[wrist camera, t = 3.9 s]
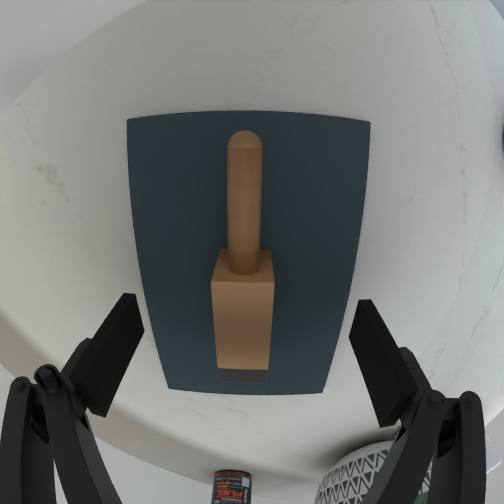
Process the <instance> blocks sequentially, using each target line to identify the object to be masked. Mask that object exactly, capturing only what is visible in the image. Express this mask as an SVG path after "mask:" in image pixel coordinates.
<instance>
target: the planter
mask: <svg viewBox="0 0 504 504" xmlns="http://www.w3.org/2000/svg"><path fill="white" fill-rule="evenodd" d="M393 441H394V440H390V441H381V442H376V443H373V444H369V445H366V446H364V447H361V448H359V449H357V450H355V451H353V452H351V453H349V454H347V455H346V456H344V457H343V458H342V459H341V460H339V461H338V462H337V463H336V464H335V465H334V466H333V467H332V468H331V469H330V470H329V471H328V473H327V474H326V475H325V477H324V478H323V480H322V481H321V483H320V485H319V488H318V490H317V494H316V498H315V503H314V504H360V503H361V501H362V500H363V498H364V497H365V495H366V493H367V492H368V490H369V488H370V486H371V485H372V483H373V481H374V479H375V477H376V476H377V474H378V472H379V470H380V468H381V466H382V464H383V462H384V460H385V458H386V456H387V454H388V452H389V450H390V447H391V445H392V443H393ZM431 467H432V460H431V462H430V465H429V468H428V471H427V474H426V476H425V479H424V481H423V484H422V486H421V489H420V491H419V493H418V496H417V498H416V500H415V502H414V504H426V502H427V497H428V491H429V484H430V476H431Z"/></svg>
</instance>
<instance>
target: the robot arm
mask: <svg viewBox="0 0 504 504" xmlns="http://www.w3.org/2000/svg"><path fill="white" fill-rule="evenodd" d="M144 332H145V331H144V327H143V323H142V319H141V315H140V311H139V307H138V303H137V298H136V294H131V293H123V295H122V296H121V298H120V299H119V300H118V302H117V303H116V305H115V306H114V307H113V309H112V310H111V312H110V313H109V315H108V316H107V317H106V319H105V320H104V322H103V323H102V325H101V326H100V328H99V329H98V331H97V332H96V334H95V335H94V337H93V338H92V339H90V338H86V339H85V340H83V341H82V342H81V343H79V345H78V346H77V348H76V349H75V352H73V354H72V355H71V357H70V358H69V360H68V361H67V363H66V364H65V366H64V368H63V369H62V371H61V372H60V373H59V371H58V370H57V368H56V367H55V366H54V365H51V364H45V365H43V366H40V367H39V368H38V369H37V370H36V372H35V373H34V379H35V381H36V382H37V384H32V383H31V382H30V380H29V379H28V378H27V377H23V376H21V377H18V378H16V379H15V380H14V381H13V382H12V384H11V386H10V390H9V394H8V399H7V403H6V409H5V414H4V419H3V425H2V433H1V440H0V504H57V503H56V493H55V481H54V461H55V464H56V468H57V472H58V476H59V479H60V482H61V485H62V488H63V491H64V494H65V497H66V500H67V502H68V504H122V502H121V500H120V498H119V496H118V494H117V492H116V490H115V488H114V486H113V484H112V481H111V479H110V477H109V475H108V472H107V470H106V467H105V465H104V463H103V460H102V458H101V455H100V452H99V450H98V447H97V445H96V441H95V439H94V436H93V433H92V430H91V427H90V423H89V420H88V417H87V415H86V413H85V411H86V409H87V407H88V408H89V410H90V411H91V413H92V414H95V415H98V416H102V417H106V415H107V413H108V410H109V408H110V405H111V403H112V401H113V398H114V396H115V394H116V392H117V389H118V387H119V385H120V383H121V380H122V378H123V376H124V374H125V372H126V369H127V367H128V365H129V363H130V361H131V359H132V357H133V354H134V352H135V350H136V348H137V346H138V344H139V342H140V340H141V338H142V336H143V334H144ZM349 340H350V342H351V345H352V348H353V350H354V353H355V356H356V358H357V361H358V364H359V367H360V369H361V372H362V375H363V378H364V381H365V384H366V387H367V389H368V392H369V395H370V398H371V401H372V404H373V407H374V410H375V414H376V417H377V420H378V423H379V426H380V428H382V427H387V426H392V425H395V423H396V422H397V421H398V419H399V418H400V421H401V426H400V427H399V428H398V429H397V431H396V432H395V433H394V435H393V436H395V435H396V436H395V439H394V441H393V443H392V445H391V447H390V450H389V452H388V454H387V456H386V458H385V460H384V462H383V464H382V466H381V468H380V470H379V472H378V474H377V476H376V477H375V479H374V481H373V483H372V485H371V486H370V488H369V490H368V492H367V493H366V495H365V497H364V498H363V500H362V501H361V503H360V504H414V502H415V500H416V498H417V496H418V493H419V491H420V489H421V486H422V484H423V481H424V479H425V476H426V474H427V471H428V468H429V465H430V462H431V460H432V467H431V476H430V484H429V491H428V497H427V502H426V504H485V493H486V442H485V429H484V419H483V411H482V404H481V400H480V398H479V396H478V395H477V394H476V393H474V392H471V391H465V392H464V393H462V395H461V396H460V397H459V398H445V396H444V395H443V394H442V393H441V392H439V391H437V390H433V389H432V388H431V386H430V384H429V382H428V380H427V378H426V376H425V374H424V373H423V371H422V369H421V368H420V365H419V363H418V362H417V360H416V358H415V356H414V354H413V353H412V352H411V351H410V350H409V349H408V348H406V347H401V348H398V346H397V345H396V343H395V341H394V339H393V337H392V335H391V334H390V332H389V330H388V328H387V326H386V325H385V323H384V321H383V319H382V318H381V316H380V314H379V312H378V311H377V309H376V307H375V305H374V304H373V302H372V300H371V299H364V300H358V304H357V308H356V312H355V316H354V320H353V323H352V327H351V330H350V334H349Z"/></svg>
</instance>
